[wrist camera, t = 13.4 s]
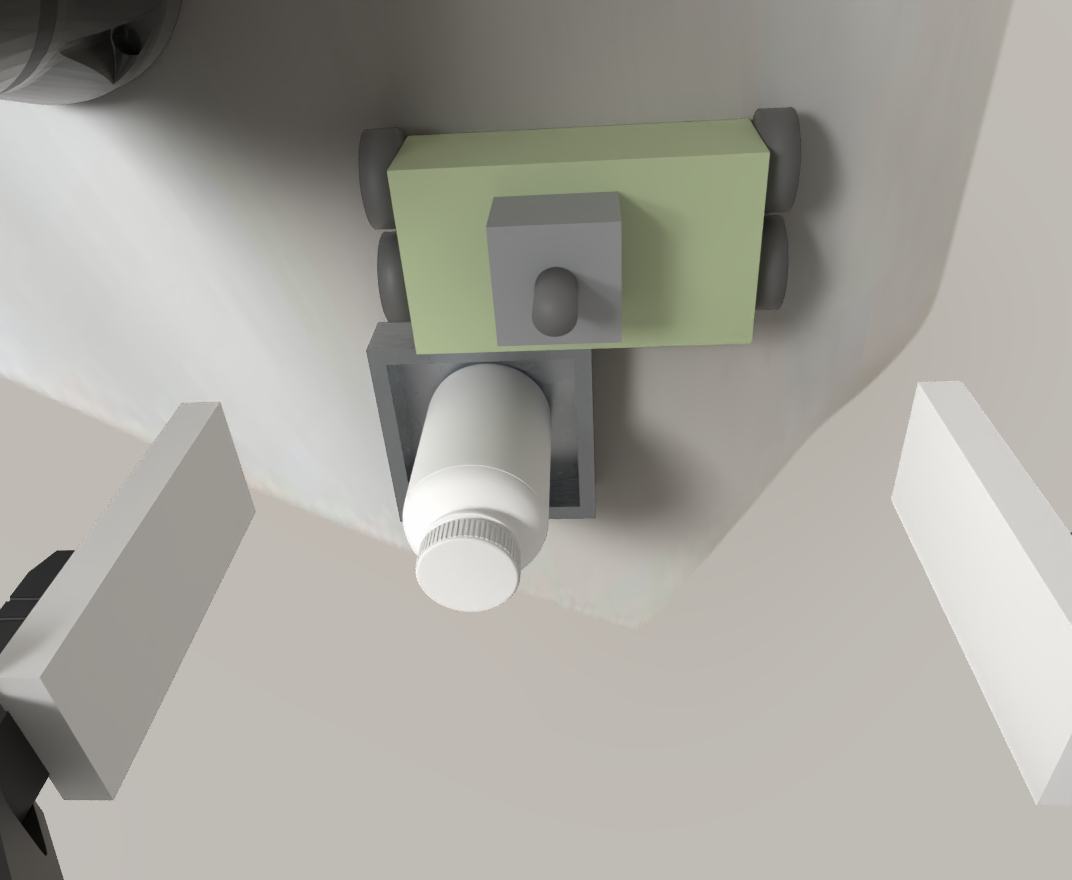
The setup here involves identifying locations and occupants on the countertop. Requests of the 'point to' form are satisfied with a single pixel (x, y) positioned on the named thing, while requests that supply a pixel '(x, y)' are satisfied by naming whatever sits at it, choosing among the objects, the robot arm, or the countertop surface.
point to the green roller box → (583, 232)
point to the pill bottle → (479, 486)
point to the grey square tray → (415, 377)
